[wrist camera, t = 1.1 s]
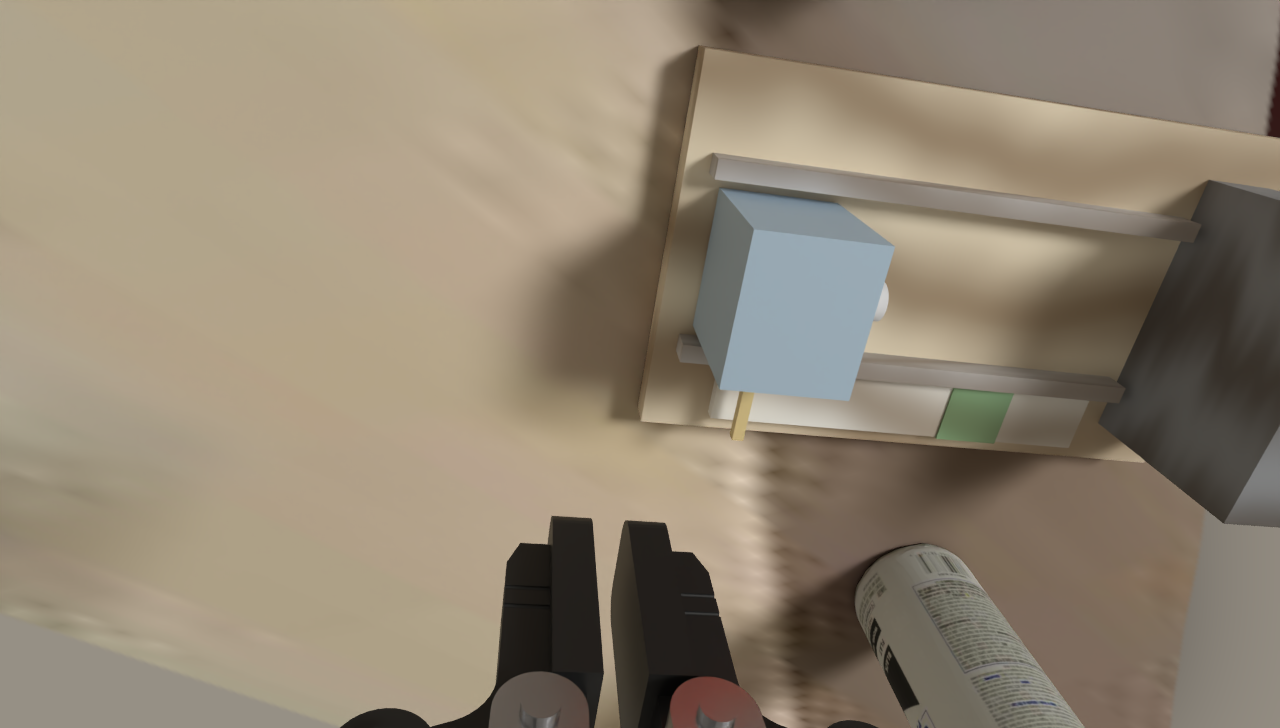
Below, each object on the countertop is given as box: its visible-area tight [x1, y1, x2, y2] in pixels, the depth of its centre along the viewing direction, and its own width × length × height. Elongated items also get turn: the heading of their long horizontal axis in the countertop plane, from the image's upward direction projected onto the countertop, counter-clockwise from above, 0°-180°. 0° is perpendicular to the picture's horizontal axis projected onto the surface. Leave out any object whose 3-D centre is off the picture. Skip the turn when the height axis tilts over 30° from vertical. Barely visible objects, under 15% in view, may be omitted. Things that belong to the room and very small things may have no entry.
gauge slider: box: [693, 187, 895, 441], centre depth 31 cm, size 10×6×6 cm, turn 172°
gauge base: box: [638, 46, 1280, 527], centre depth 31 cm, size 16×26×10 cm, turn 82°
